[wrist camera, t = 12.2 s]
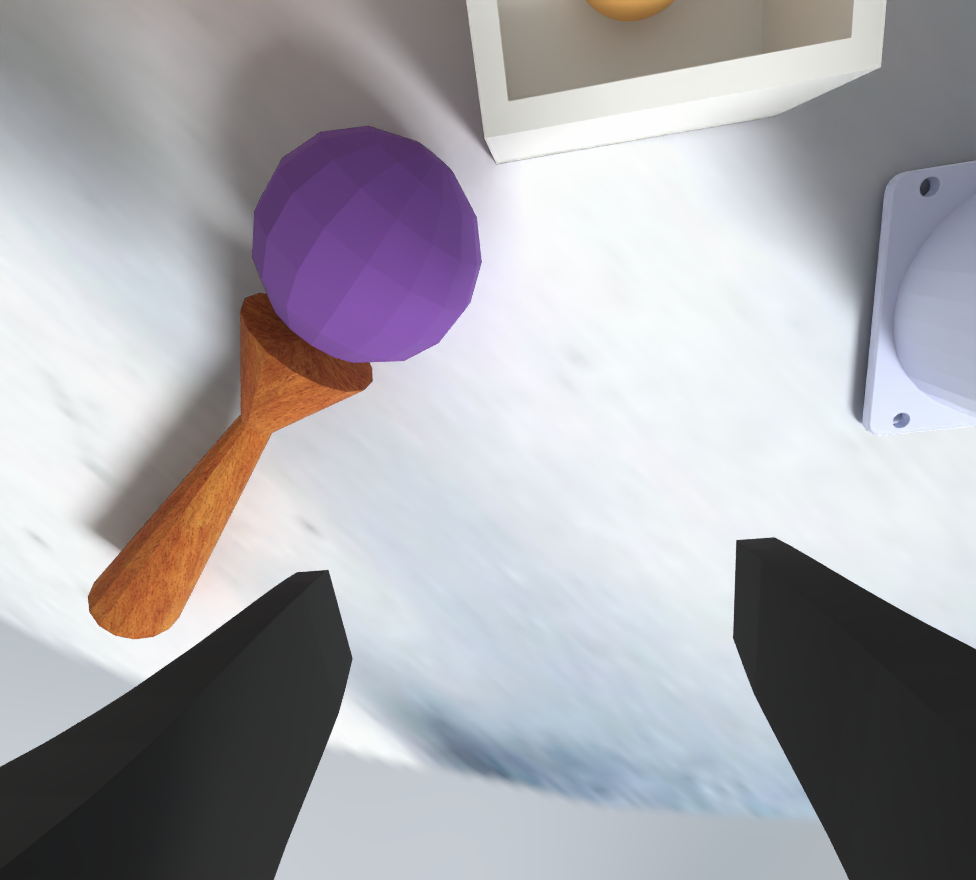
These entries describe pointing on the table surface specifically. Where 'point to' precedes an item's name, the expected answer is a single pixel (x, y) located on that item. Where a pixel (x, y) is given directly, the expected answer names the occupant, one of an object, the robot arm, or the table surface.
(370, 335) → the kendama
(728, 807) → the table surface
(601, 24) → the white open box
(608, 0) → the orange ball
